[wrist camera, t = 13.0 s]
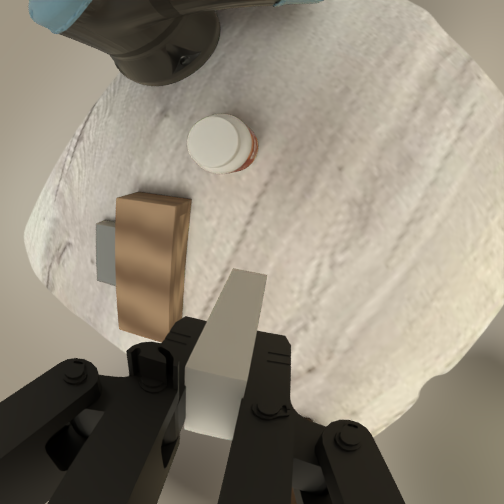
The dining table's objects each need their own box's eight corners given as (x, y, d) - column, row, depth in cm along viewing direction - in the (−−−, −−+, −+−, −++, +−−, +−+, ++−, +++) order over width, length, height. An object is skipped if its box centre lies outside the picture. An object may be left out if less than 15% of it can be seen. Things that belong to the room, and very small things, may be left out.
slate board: (107, 219, 40) (95, 223, 37) (171, 231, 39) (162, 237, 36) (107, 273, 42) (97, 280, 40) (167, 289, 42) (159, 298, 39)
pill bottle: (265, 161, 34) (257, 162, 24) (219, 178, 35) (192, 186, 25) (248, 116, 33) (233, 97, 22) (203, 133, 34) (169, 124, 23)
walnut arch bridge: (138, 191, 37) (116, 197, 32) (191, 199, 37) (175, 206, 31) (136, 310, 43) (119, 329, 38) (181, 323, 43) (168, 344, 37)
